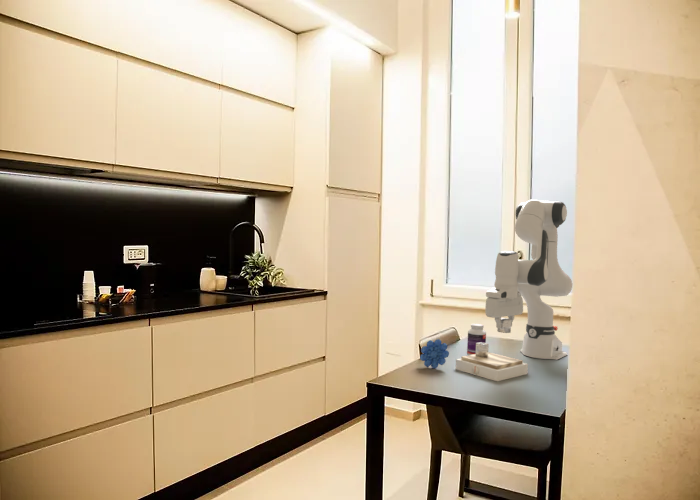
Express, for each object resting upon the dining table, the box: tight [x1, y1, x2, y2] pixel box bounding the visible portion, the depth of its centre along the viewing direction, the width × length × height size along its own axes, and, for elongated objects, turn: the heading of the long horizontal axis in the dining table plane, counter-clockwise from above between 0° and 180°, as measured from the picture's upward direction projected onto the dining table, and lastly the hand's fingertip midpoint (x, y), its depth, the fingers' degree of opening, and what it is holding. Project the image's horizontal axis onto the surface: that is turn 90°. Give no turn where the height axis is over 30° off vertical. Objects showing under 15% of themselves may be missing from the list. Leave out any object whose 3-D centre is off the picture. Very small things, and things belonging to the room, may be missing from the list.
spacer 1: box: [476, 342, 490, 357], centre depth 210 cm, size 5×5×5 cm
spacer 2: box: [496, 317, 512, 334], centre depth 202 cm, size 5×5×5 cm
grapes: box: [419, 338, 450, 369], centre depth 209 cm, size 12×7×12 cm, turn 71°
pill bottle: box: [466, 323, 487, 356], centre depth 232 cm, size 8×8×14 cm
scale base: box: [455, 357, 529, 382], centre depth 206 cm, size 21×20×4 cm
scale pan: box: [460, 351, 524, 369], centre depth 206 cm, size 17×17×1 cm
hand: (504, 327), depth 202 cm, fingers closed on spacer 2, 5 cm apart
